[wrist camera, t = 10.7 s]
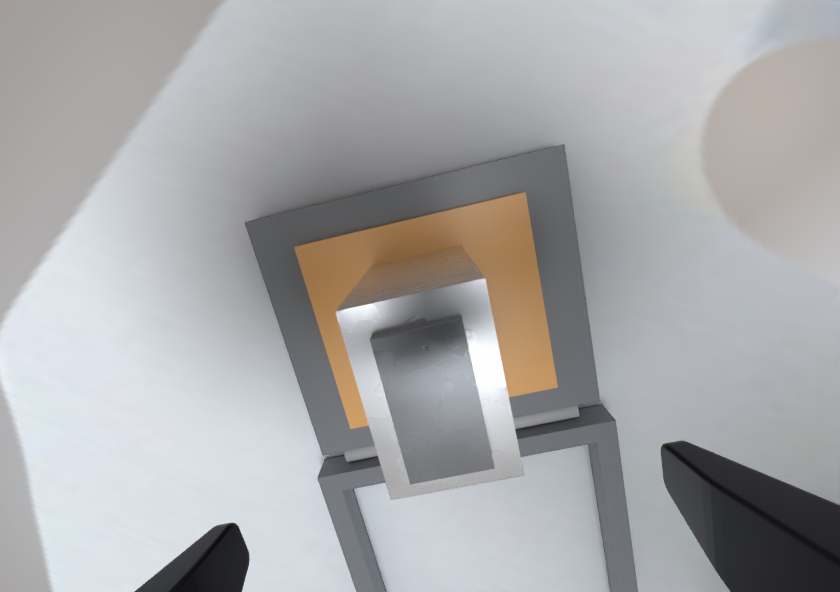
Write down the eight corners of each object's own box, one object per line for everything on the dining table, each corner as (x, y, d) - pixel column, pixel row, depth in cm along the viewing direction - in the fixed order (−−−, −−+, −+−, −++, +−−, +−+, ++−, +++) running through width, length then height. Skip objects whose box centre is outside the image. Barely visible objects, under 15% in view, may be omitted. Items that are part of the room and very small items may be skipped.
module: (462, 244, 17) (488, 282, 10) (488, 372, 18) (528, 487, 11) (371, 265, 17) (330, 317, 10) (404, 389, 19) (389, 513, 11)
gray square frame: (602, 404, 21) (615, 420, 19) (632, 623, 24) (645, 650, 23) (324, 459, 22) (317, 478, 20) (392, 660, 25) (390, 689, 24)
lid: (555, 147, 18) (569, 142, 16) (592, 406, 21) (607, 426, 19) (256, 220, 19) (238, 223, 17) (333, 457, 22) (325, 480, 20)
